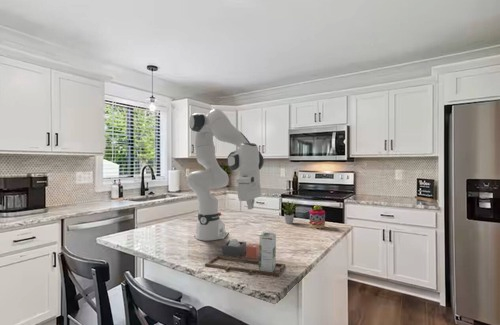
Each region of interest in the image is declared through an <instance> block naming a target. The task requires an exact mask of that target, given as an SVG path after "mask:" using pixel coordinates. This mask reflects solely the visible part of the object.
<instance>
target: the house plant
mask: <svg viewBox="0 0 500 325" xmlns="http://www.w3.org/2000/svg"><path fill="white" fill-rule="evenodd" d="M293 202H294V201H292V202H291V203H290V201H289V200H287V201H286V202H284V203H283V202H282V205H283V207H284V208H283V207H282V208H280V209H281V210H283V212H285V213H284V214H283V215H284V221H285V225H286V224H287V225H292V224H294V218H295V214H294V212H296V211H298V209H297V208H299V207H300V206H298V205H297V203H296V202H294V203H293Z"/></svg>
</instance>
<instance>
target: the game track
mask: <svg viewBox="0 0 500 325" xmlns="http://www.w3.org/2000/svg"><path fill="white" fill-rule="evenodd" d="M218 259H219V260H227V261H232V262H241V263H248V264H257V265H259V260H254V259H247V258H243V257H242V256H240V257H234V256H226V255H215V256H214V257H213V258H211V259H209V260H208V261H206V262H205V263H204V266H205V267H211V268H216V269H223V270H225V272H229V271H237V272H244V273H248V275H249V276H252V274H255V275H256V274H257V275H265V276H271V277H276V278H278V277H279V276H280V275H281V273H283V271H284V268H286V263H278V262H276V264H275V267H279V268H278V270H277V271H276V272H274V271H273V272H267V271H260V270H259V269H253V268H246V267H245V268H244V267H238V266H233V265H232V266H231V265H224V264H216V263H214V262H216V260H218ZM282 270H283V271H282Z"/></svg>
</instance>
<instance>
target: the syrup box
mask: <svg viewBox="0 0 500 325" xmlns="http://www.w3.org/2000/svg"><path fill="white" fill-rule="evenodd" d="M276 247H277V234H276V233H273V232H262V233H261V234H260V236H259V256H258V261H259V264H258V270H260V271H267V272H274V271H275V269H276V266H275V264H276V263H277V261H276V257H277V256H276V254H277V253H276V252H277V249H276Z"/></svg>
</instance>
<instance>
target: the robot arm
mask: <svg viewBox="0 0 500 325" xmlns="http://www.w3.org/2000/svg"><path fill="white" fill-rule="evenodd" d="M188 122H189V123H188V124H189V128H190V129H191V130H192V131H194V132H195V136H194V137H195V138H194V148H195V157H196V158H195V159H196V161H197V164H199V165H201V166H203V168H204V169H205V170H204V169H203V170H195V171H191V172H189V173H188V174H187V176H186V185H187V187H188V188H189V189H191V190H192V191H193V192H194V194H195V195H196V199H197V202H198V213H197V221H196V224H195V225H196V226H195V233H194V234H193V237H195V239H196V240H199V241H215V240H216V241H217V240H224V238H225V237H227V235H228V234H229V231H228V230H227V229H226V225H225V223H224V222H223V221H222V220H221V218H220V216H221V215H222V212H219V200H218V198H217V197H216V196H215V195H212V194H211V191H210V190H214V189H215V190H216V189H217V190H218V189H222V188H225V187H227V186H228V184H229V180H230V178H229V175H228V173H227V172H226V171H225V170H224V169H223V168H222V167H221V166H220V165H219V162H218V160H217V157H216V151H215V142H214V138H215V139H217V140H218V141H220V142H223V143H228V144H232V145H235V146H236V147H237V149H236V150H234V151H231V152H230V153H229V154H228V156H227V158H226V159H227V160H226V162H227V163H226V164H227V166H228V168H229V169H230V171H232V172H239V175H238V177H236V184H237V188H236V189H237V198H238V201H240V202H246V204H247V210H252V209H254V206H255V205H254V204H255V201H256V200H255V199H257V198H260V197H261V196H262V191H261V190H262V189H261V187H262V186H261V179H260V178H261V175H260V174H261V173H260V170H261V169H262V168H263V166H264V163H265V159H264V157H263V154H262V153H261V152H260V151H259V147H258V145H257V144H256V143H253V142H250V141H249V139H248V138H247V137H246V136H245V135H244V134H243V133H242V132H241V131H240V130H239V129H237V128H236V127H235V126H234V125H233V123H232V122H231V121H230V119H229V117H228V116H227V115H226V114H225V113H224V112H223V111H222V110H221V109H219V108H214V109H212V110H210V111H209V112H208V113H205V112H202V113H200V112H195V113H192V114H191V115H190V117H189V120H188Z"/></svg>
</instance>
